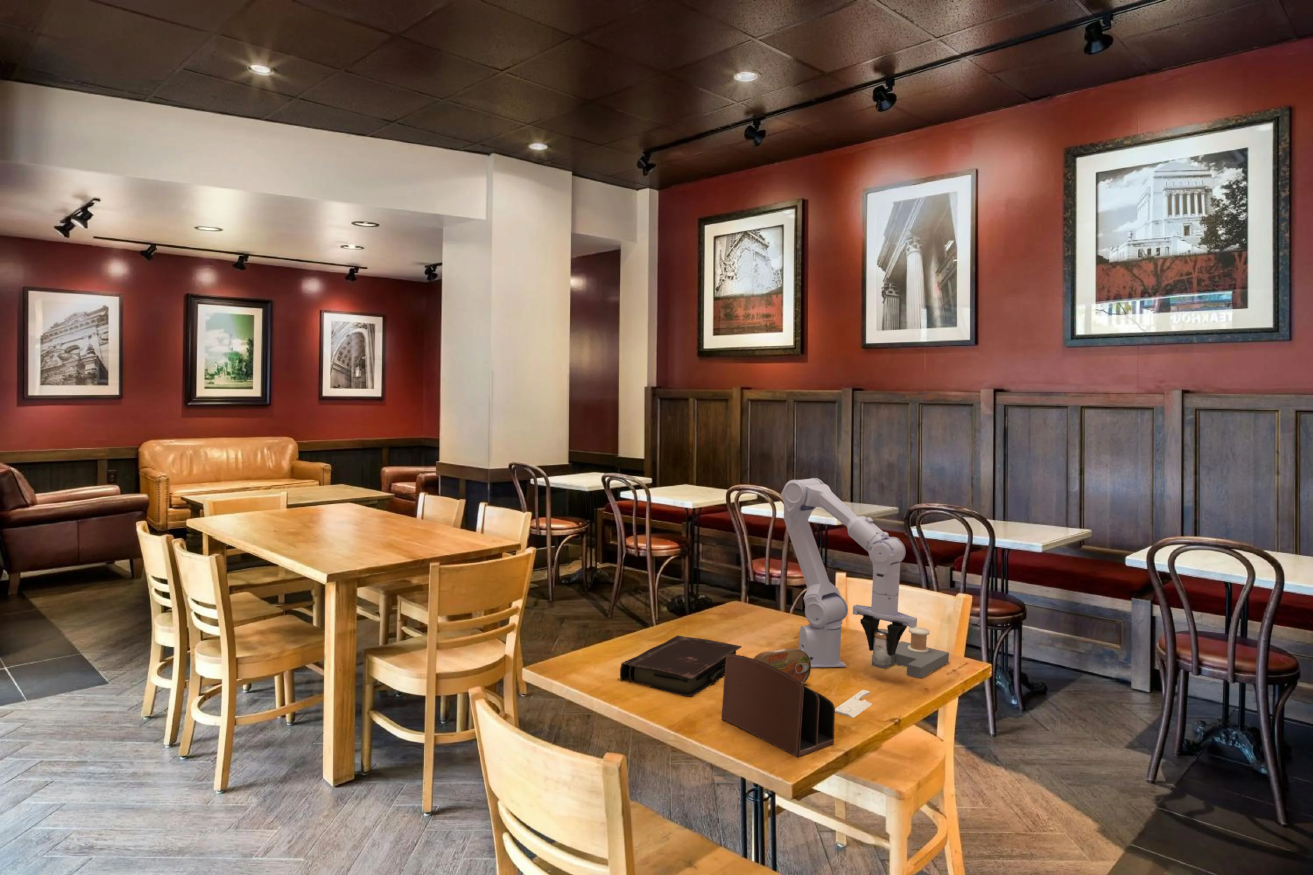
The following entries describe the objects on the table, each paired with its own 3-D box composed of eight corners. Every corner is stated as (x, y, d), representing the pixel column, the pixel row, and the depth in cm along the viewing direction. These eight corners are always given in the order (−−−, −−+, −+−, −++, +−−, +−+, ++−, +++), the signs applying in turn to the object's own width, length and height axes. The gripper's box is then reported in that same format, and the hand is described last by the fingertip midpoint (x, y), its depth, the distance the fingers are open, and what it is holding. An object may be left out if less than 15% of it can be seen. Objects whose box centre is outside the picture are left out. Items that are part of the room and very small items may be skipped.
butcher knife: (885, 699, 171) (885, 694, 171) (856, 721, 159) (856, 715, 159) (862, 692, 174) (862, 687, 174) (832, 713, 162) (832, 708, 162)
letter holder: (797, 758, 141) (801, 679, 141) (720, 720, 157) (723, 648, 156) (834, 744, 147) (838, 668, 147) (757, 709, 163) (759, 640, 162)
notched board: (920, 678, 184) (922, 645, 183) (871, 665, 192) (873, 634, 191) (948, 662, 196) (950, 631, 195) (901, 650, 204) (902, 621, 203)
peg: (876, 665, 180) (878, 634, 179) (868, 658, 184) (870, 628, 184) (894, 664, 180) (896, 633, 180) (886, 658, 185) (888, 628, 184)
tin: (753, 696, 170) (755, 656, 169) (745, 690, 173) (747, 651, 172) (811, 686, 177) (812, 648, 176) (802, 681, 180) (803, 643, 179)
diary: (618, 683, 177) (618, 660, 176) (674, 653, 198) (674, 633, 198) (694, 700, 167) (694, 676, 167) (744, 667, 189) (744, 646, 189)
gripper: (924, 595, 179) (920, 655, 180) (864, 583, 189) (861, 640, 190) (910, 601, 174) (906, 663, 175) (849, 588, 184) (846, 647, 185)
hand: (882, 652), depth 182 cm, fingers closed on peg, 4 cm apart
